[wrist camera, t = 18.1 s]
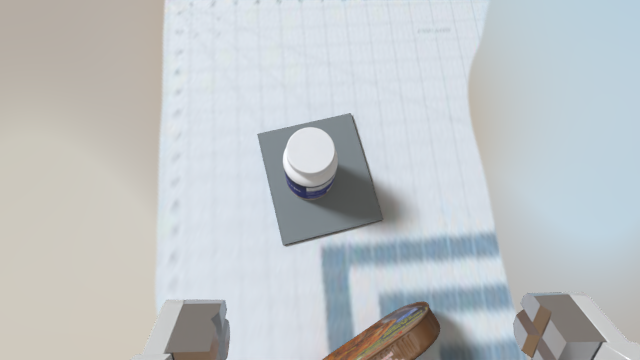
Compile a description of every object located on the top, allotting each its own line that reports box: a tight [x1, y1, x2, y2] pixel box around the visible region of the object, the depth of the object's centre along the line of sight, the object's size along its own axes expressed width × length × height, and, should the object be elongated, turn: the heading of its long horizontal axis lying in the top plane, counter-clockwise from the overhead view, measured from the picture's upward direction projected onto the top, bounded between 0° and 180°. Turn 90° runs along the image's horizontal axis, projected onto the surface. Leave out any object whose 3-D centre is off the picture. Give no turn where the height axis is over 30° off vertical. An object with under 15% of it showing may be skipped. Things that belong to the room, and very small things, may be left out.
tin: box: [323, 302, 440, 360], centre depth 37 cm, size 15×3×8 cm, turn 121°
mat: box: [257, 113, 383, 245], centre depth 46 cm, size 14×12×1 cm
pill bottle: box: [283, 127, 338, 200], centre depth 41 cm, size 6×6×10 cm
